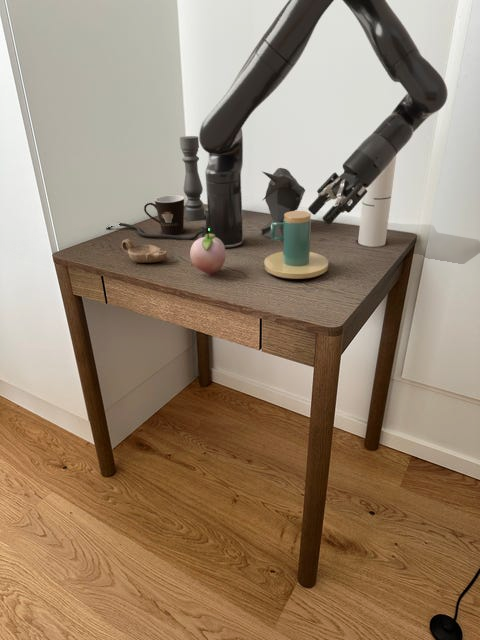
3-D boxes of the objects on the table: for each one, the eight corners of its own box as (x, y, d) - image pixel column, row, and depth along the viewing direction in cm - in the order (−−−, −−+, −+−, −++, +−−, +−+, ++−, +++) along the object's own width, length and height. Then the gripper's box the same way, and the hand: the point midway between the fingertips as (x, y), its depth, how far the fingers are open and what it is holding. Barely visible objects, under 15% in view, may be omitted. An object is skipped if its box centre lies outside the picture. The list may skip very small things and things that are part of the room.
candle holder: (186, 215, 154) (179, 136, 142) (204, 214, 155) (199, 135, 143) (185, 221, 149) (178, 139, 137) (204, 219, 149) (199, 138, 137)
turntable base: (260, 272, 108) (260, 268, 108) (289, 258, 116) (290, 254, 116) (302, 284, 101) (302, 280, 101) (331, 268, 109) (331, 264, 108)
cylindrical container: (385, 247, 121) (398, 147, 109) (358, 246, 122) (367, 147, 110) (384, 238, 127) (396, 142, 115) (358, 237, 128) (367, 142, 116)
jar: (325, 255, 114) (327, 205, 108) (331, 278, 101) (335, 223, 95) (264, 255, 115) (264, 206, 109) (263, 278, 102) (262, 224, 96)
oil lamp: (173, 259, 118) (171, 240, 115) (155, 269, 112) (153, 250, 110) (134, 252, 123) (131, 234, 121) (115, 261, 118) (112, 242, 115)
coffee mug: (192, 229, 140) (190, 197, 135) (174, 237, 133) (171, 203, 129) (163, 225, 145) (160, 193, 141) (145, 232, 139) (140, 199, 134)
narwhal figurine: (316, 228, 137) (319, 165, 129) (283, 240, 128) (284, 174, 119) (279, 219, 146) (280, 161, 138) (246, 231, 137) (245, 168, 128)
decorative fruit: (192, 267, 112) (188, 228, 107) (225, 265, 113) (223, 226, 108) (191, 283, 104) (187, 240, 99) (227, 280, 104) (225, 238, 100)
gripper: (344, 144, 105) (296, 199, 108) (375, 153, 92) (319, 214, 96) (364, 166, 108) (316, 219, 111) (395, 177, 96) (341, 236, 99)
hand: (317, 217), depth 103 cm, fingers open, 8 cm apart
